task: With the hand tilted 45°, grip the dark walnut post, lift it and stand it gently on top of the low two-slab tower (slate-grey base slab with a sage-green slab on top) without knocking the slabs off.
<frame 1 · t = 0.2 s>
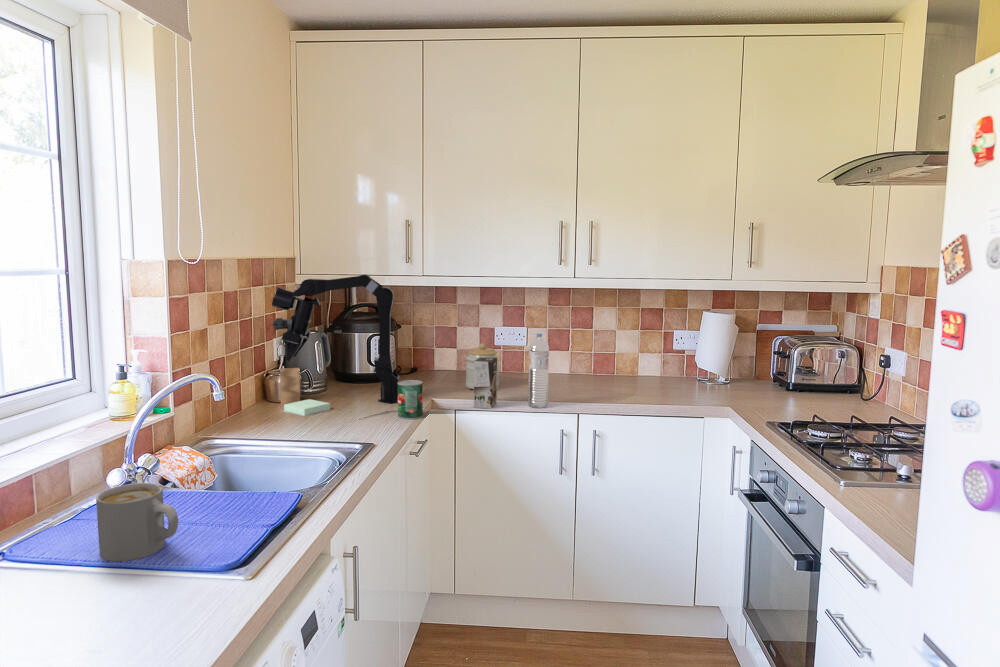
hand: (290, 358, 224), 15 cm above the worktop, tool tilted 15°, fingers open, 9 cm apart
canned tomato: (410, 416, 209), on the worktop
walnut post: (290, 406, 220), on the worktop
jar: (482, 388, 254), on the worktop
water bottle: (537, 406, 225), on the worktop
sage top slab: (307, 410, 210), point 1 cm above the worktop
coffee box: (485, 405, 225), on the worktop
coffee mug: (140, 550, 113), on the worktop
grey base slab: (306, 416, 210), on the worktop
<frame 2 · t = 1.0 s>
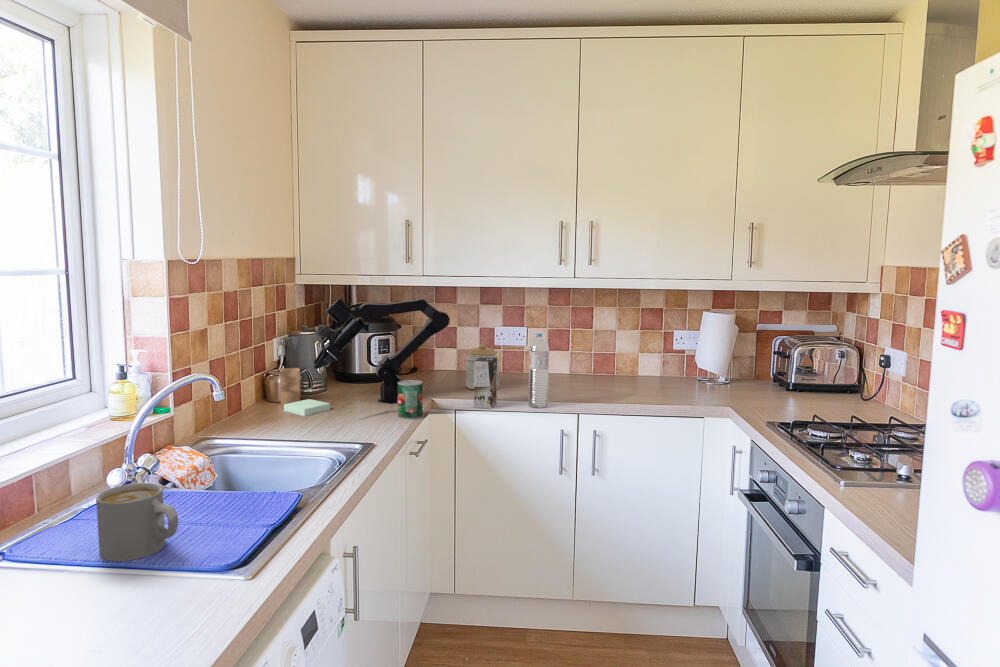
hand: (314, 365, 221), 13 cm above the worktop, tool tilted 45°, fingers open, 9 cm apart
sage top slab: (307, 410, 209), point 1 cm above the worktop, touching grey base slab
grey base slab: (306, 416, 210), on the worktop, touching sage top slab
everything else where it was.
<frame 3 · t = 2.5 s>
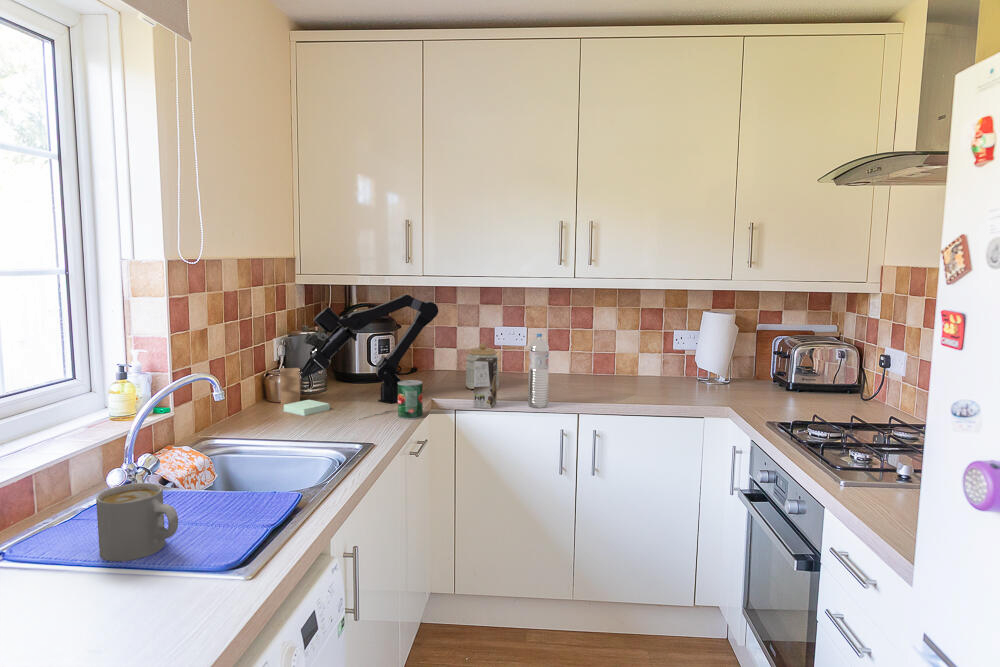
hand: (302, 374, 220), 11 cm above the worktop, tool tilted 45°, fingers open, 9 cm apart
nothing on the worktop moved.
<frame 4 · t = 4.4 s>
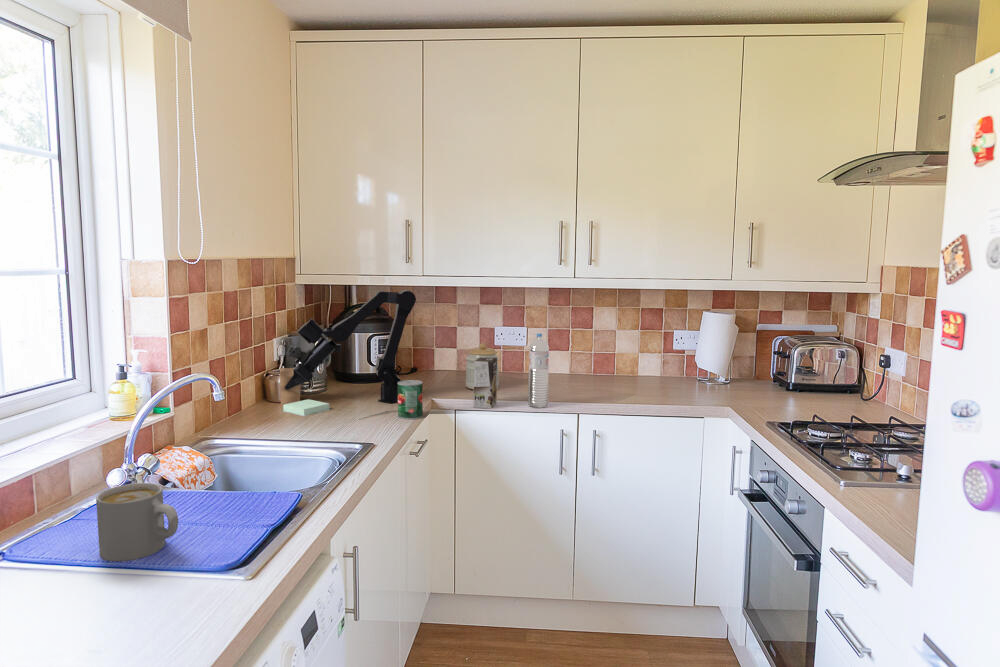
hand: (285, 386, 219), 7 cm above the worktop, tool tilted 45°, fingers closed on walnut post, 6 cm apart
walnut post: (290, 406, 220), on the worktop, touching gripper
everything else where it was.
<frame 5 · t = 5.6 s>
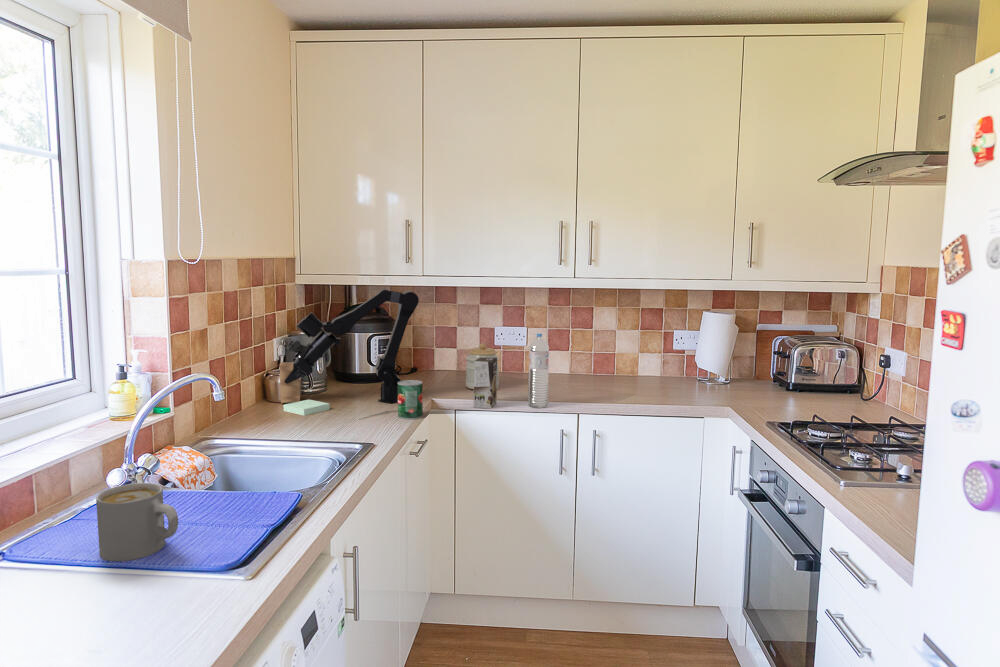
hand: (285, 380, 219), 9 cm above the worktop, tool tilted 45°, fingers closed on walnut post, 6 cm apart
walnut post: (290, 400, 220), point 2 cm above the worktop, touching gripper
sage top slab: (306, 410, 210), point 1 cm above the worktop
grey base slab: (306, 416, 210), on the worktop
everything else where it was.
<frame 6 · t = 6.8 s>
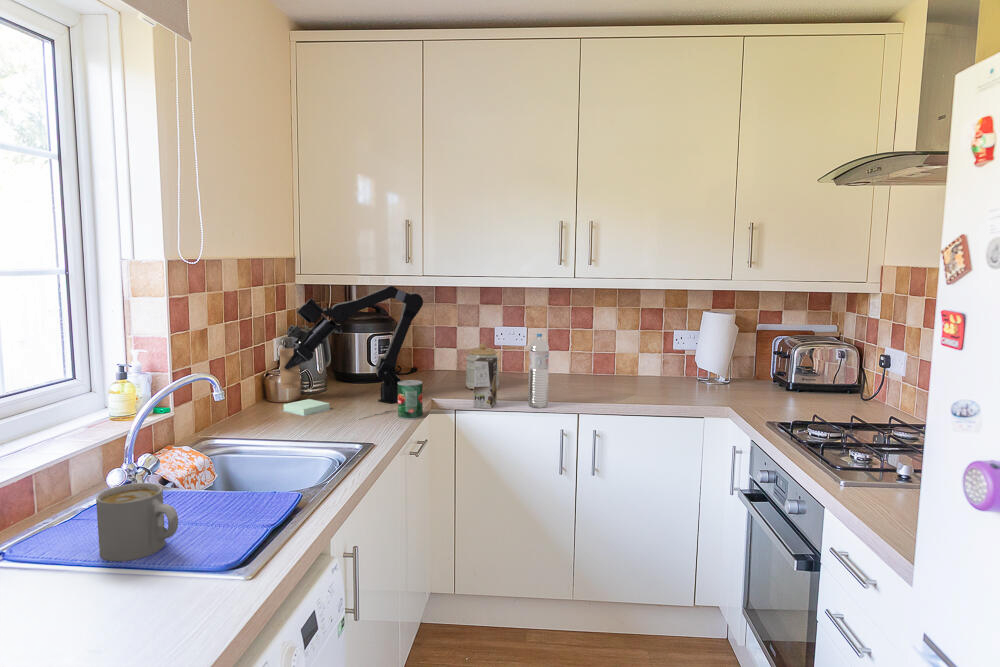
hand: (285, 366, 218), 13 cm above the worktop, tool tilted 45°, fingers closed on walnut post, 6 cm apart
walnut post: (290, 386, 219), point 7 cm above the worktop, touching gripper
sage top slab: (306, 410, 210), point 1 cm above the worktop, touching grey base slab
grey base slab: (306, 416, 210), on the worktop, touching sage top slab
everything else where it was.
when the fingers open (11 cm above the worktop, at t = 10.9 s): walnut post drops 1 cm, resting on sage top slab.
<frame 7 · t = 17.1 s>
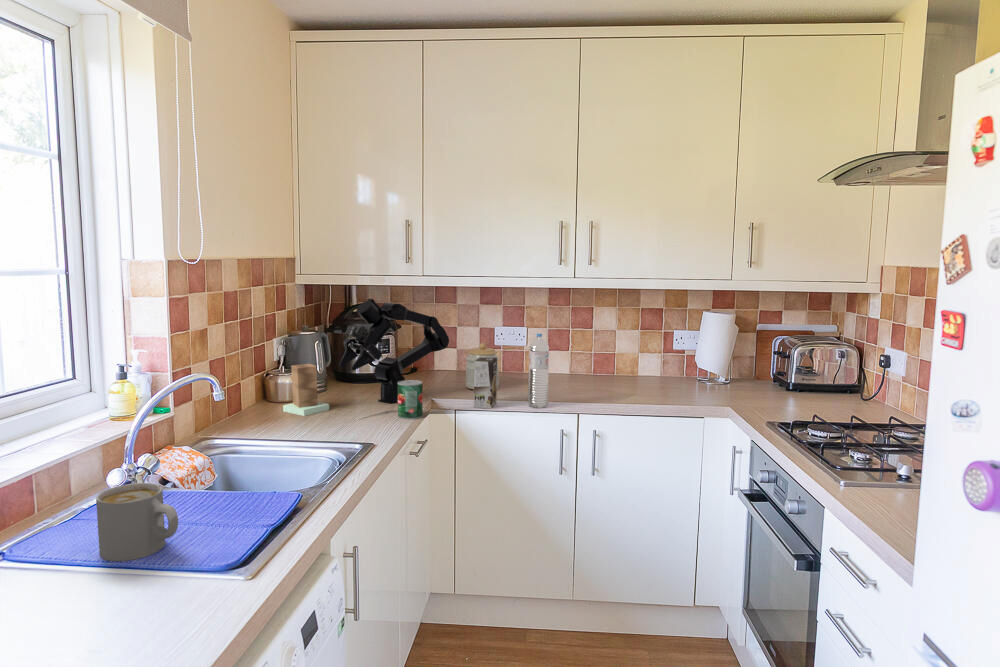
hand: (346, 367, 217), 14 cm above the worktop, tool tilted 45°, fingers open, 9 cm apart
walnut post: (305, 404, 209), point 3 cm above the worktop, touching sage top slab
sage top slab: (306, 410, 209), point 1 cm above the worktop, touching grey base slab, walnut post
everything else where it was.
at the end: walnut post 0.4 cm off-centre on the sage top slab, point 2.2 cm above the sage top slab's base; walnut post tilted 2°; sage top slab moved 0.8 cm from its start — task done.
